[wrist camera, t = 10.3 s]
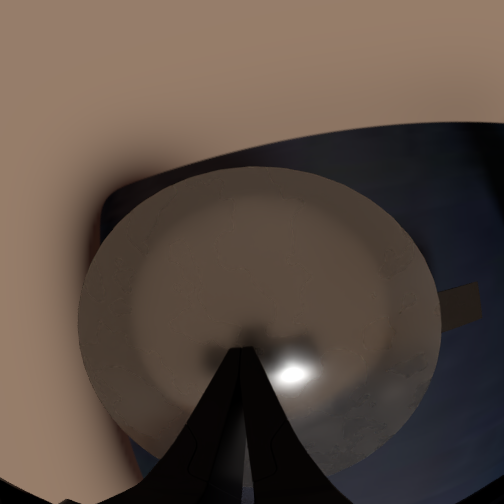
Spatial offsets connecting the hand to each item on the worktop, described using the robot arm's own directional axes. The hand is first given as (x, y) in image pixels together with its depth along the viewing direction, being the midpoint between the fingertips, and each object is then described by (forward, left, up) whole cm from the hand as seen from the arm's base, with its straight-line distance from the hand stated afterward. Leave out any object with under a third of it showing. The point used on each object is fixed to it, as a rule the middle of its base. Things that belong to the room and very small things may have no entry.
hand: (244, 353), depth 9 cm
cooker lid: (-1, 0, -3) cm, 3 cm away
